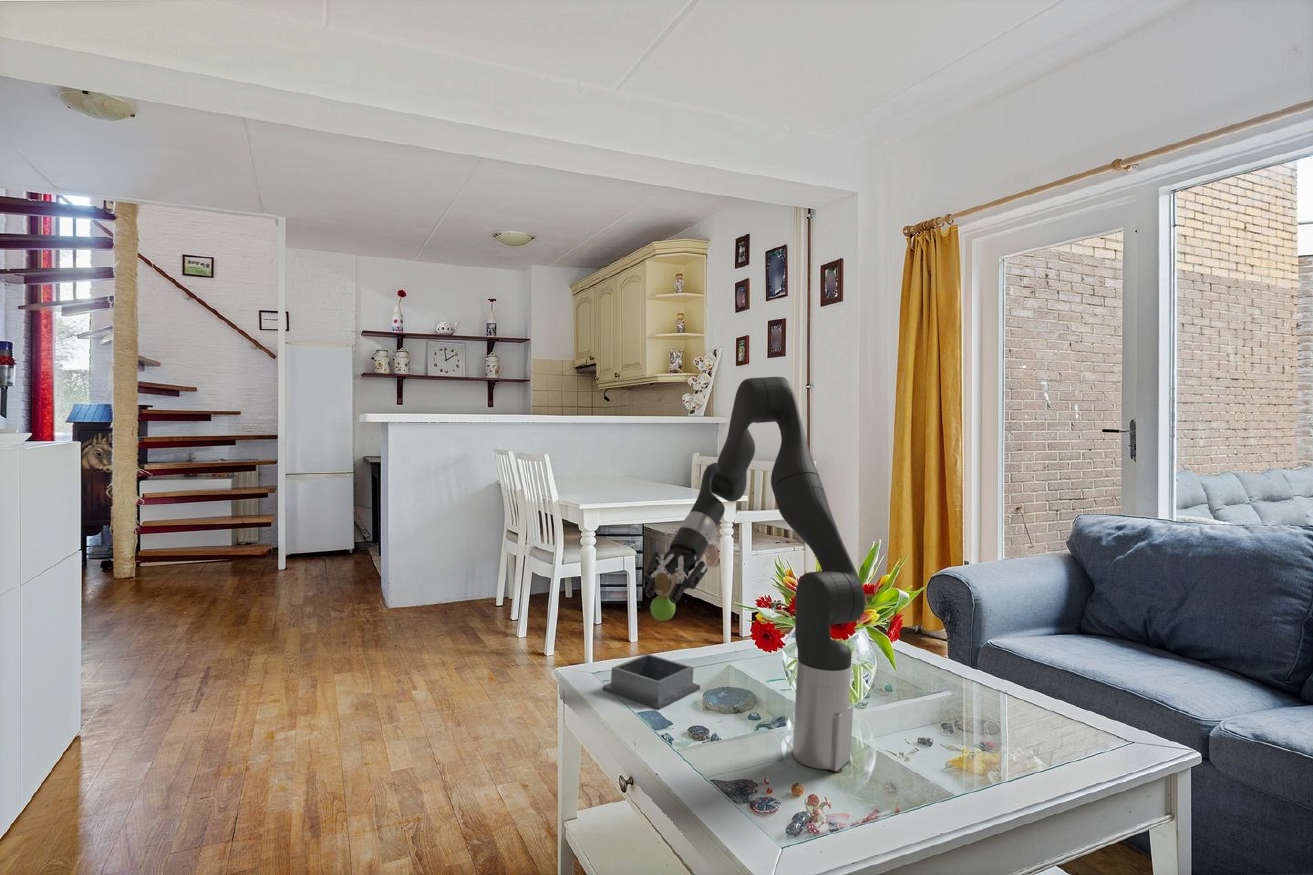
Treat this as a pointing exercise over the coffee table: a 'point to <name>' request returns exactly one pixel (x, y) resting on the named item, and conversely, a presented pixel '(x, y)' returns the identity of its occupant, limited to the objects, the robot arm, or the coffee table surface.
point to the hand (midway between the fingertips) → (659, 598)
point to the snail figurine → (663, 596)
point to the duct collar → (652, 681)
